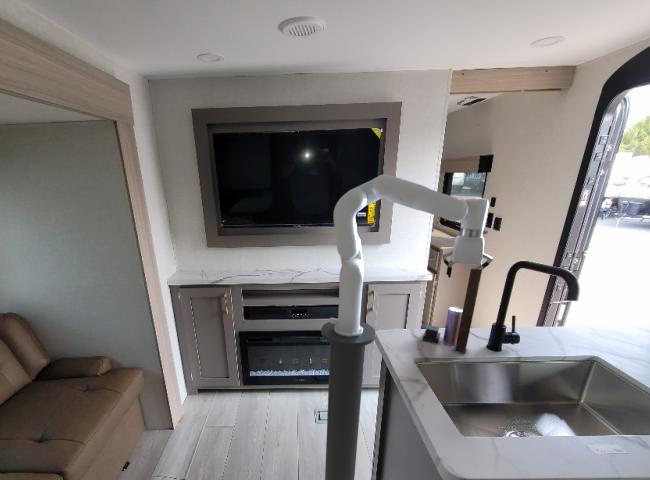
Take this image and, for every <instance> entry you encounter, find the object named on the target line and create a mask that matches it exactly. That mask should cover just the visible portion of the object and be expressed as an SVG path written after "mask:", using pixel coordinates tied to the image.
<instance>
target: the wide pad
mask: <svg viewBox="0 0 650 480" xmlns="http://www.w3.org/2000/svg"><path fill="white" fill-rule="evenodd" d="M425 334H426V329H425V330H424V332H423V335H422V342H426V343H432V344H439V341H440V338H441V332H438V335H437V337H432V336H427V335H425Z"/></svg>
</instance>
